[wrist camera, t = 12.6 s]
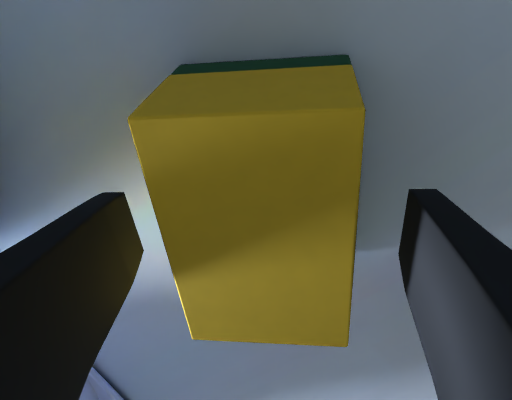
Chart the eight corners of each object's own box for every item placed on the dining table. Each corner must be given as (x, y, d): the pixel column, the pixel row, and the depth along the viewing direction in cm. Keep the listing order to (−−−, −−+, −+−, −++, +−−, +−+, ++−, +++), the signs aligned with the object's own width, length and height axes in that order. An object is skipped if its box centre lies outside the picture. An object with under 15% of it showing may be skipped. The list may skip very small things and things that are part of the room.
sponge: (178, 63, 10) (125, 117, 7) (349, 53, 10) (366, 107, 7) (216, 254, 14) (191, 340, 11) (340, 256, 13) (348, 348, 10)
